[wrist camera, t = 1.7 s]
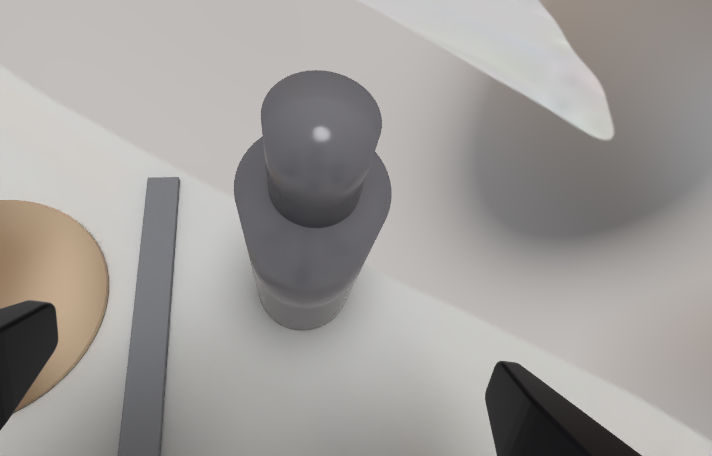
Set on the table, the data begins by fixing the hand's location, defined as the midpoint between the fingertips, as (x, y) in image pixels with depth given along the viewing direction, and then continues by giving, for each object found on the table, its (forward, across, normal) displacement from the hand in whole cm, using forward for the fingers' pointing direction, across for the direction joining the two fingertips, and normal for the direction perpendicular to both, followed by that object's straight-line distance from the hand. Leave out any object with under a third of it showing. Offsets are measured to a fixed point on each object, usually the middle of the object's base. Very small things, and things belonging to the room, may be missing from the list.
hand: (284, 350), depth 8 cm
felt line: (+9, +6, +7) cm, 13 cm away
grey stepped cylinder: (+11, 0, +5) cm, 12 cm away
